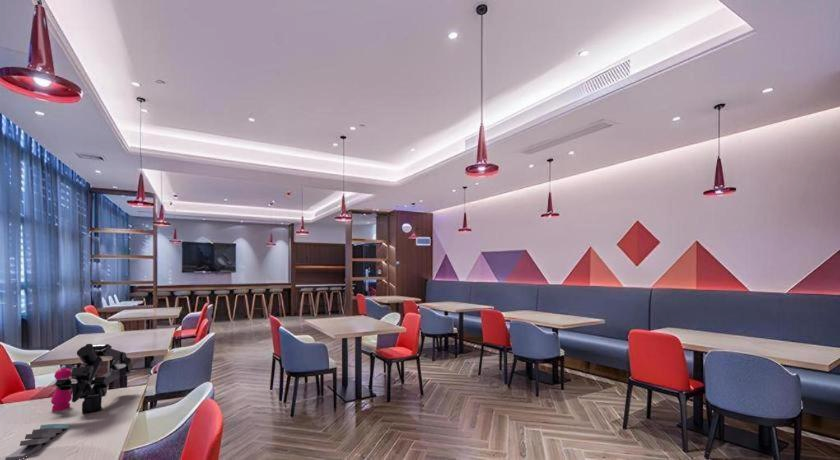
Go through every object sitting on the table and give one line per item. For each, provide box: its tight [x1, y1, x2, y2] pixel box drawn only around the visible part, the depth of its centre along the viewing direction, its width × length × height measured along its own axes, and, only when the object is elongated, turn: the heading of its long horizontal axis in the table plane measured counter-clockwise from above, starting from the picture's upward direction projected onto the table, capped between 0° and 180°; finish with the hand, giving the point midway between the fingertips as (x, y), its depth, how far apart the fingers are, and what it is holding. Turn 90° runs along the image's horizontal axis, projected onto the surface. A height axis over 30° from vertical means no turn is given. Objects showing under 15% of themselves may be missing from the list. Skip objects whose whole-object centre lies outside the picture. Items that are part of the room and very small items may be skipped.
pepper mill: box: [50, 364, 73, 412], centre depth 188 cm, size 7×7×20 cm
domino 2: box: [19, 437, 51, 447], centre depth 148 cm, size 2×5×10 cm
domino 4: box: [31, 428, 64, 434], centre depth 156 cm, size 2×5×10 cm
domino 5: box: [39, 423, 70, 430], centre depth 160 cm, size 2×5×10 cm
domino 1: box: [5, 443, 43, 460], centre depth 143 cm, size 2×5×10 cm
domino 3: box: [24, 433, 57, 440], centre depth 152 cm, size 2×5×10 cm
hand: (73, 401), depth 171 cm, fingers closed
